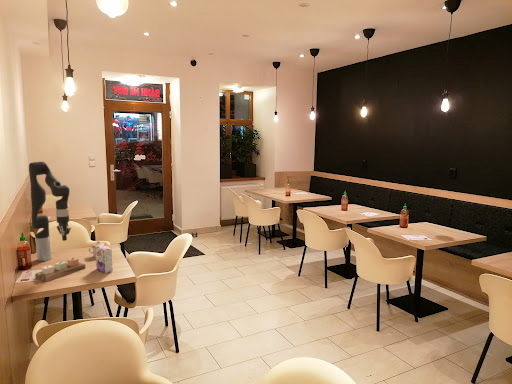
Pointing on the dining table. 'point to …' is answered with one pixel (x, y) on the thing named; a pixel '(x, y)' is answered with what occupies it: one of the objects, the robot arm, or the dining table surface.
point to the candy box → (104, 258)
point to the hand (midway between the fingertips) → (64, 240)
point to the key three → (72, 262)
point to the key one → (47, 270)
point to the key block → (59, 272)
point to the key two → (60, 266)
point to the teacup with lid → (94, 247)
